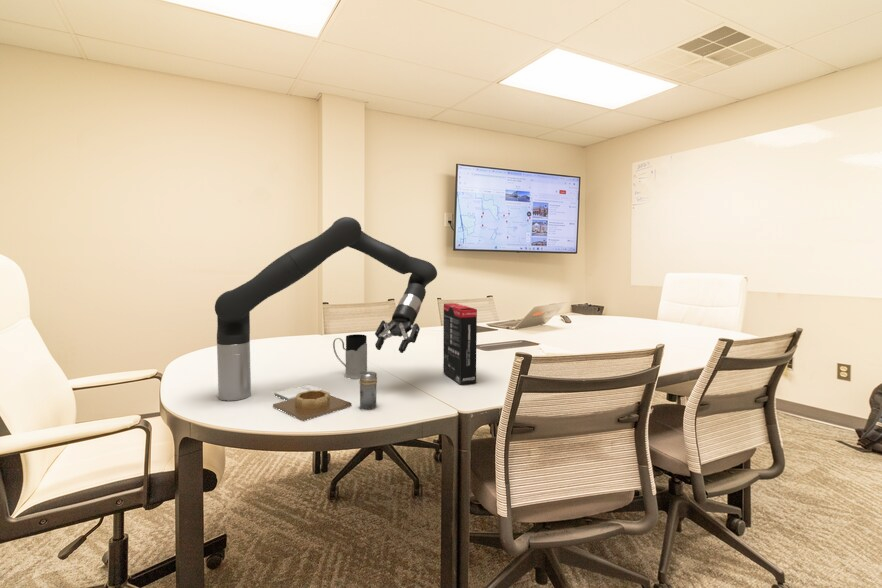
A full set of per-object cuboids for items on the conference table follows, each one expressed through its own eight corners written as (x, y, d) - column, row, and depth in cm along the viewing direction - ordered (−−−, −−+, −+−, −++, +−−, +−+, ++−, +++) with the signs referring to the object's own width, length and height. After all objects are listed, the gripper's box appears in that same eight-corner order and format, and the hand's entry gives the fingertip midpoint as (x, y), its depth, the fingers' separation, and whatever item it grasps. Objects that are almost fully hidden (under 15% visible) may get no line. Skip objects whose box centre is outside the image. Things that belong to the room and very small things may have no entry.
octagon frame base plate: (273, 407, 126) (272, 395, 126) (320, 394, 138) (320, 384, 138) (303, 421, 116) (303, 408, 115) (351, 406, 128) (351, 394, 128)
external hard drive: (274, 397, 137) (308, 388, 146) (288, 403, 132) (322, 393, 141) (274, 392, 137) (308, 383, 146) (288, 397, 131) (322, 388, 141)
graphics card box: (477, 384, 152) (479, 307, 150) (459, 386, 150) (460, 308, 147) (457, 372, 168) (459, 302, 166) (441, 373, 165) (442, 303, 163)
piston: (355, 406, 127) (355, 373, 126) (369, 402, 131) (369, 370, 130) (367, 411, 124) (367, 377, 123) (380, 406, 128) (380, 373, 127)
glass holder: (360, 380, 155) (360, 339, 154) (327, 376, 160) (326, 336, 159) (372, 374, 164) (372, 335, 163) (339, 370, 168) (339, 332, 167)
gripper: (385, 302, 146) (365, 341, 137) (422, 304, 140) (404, 345, 131) (393, 315, 152) (374, 354, 142) (429, 318, 146) (412, 359, 136)
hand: (388, 350), depth 137 cm, fingers open, 8 cm apart
